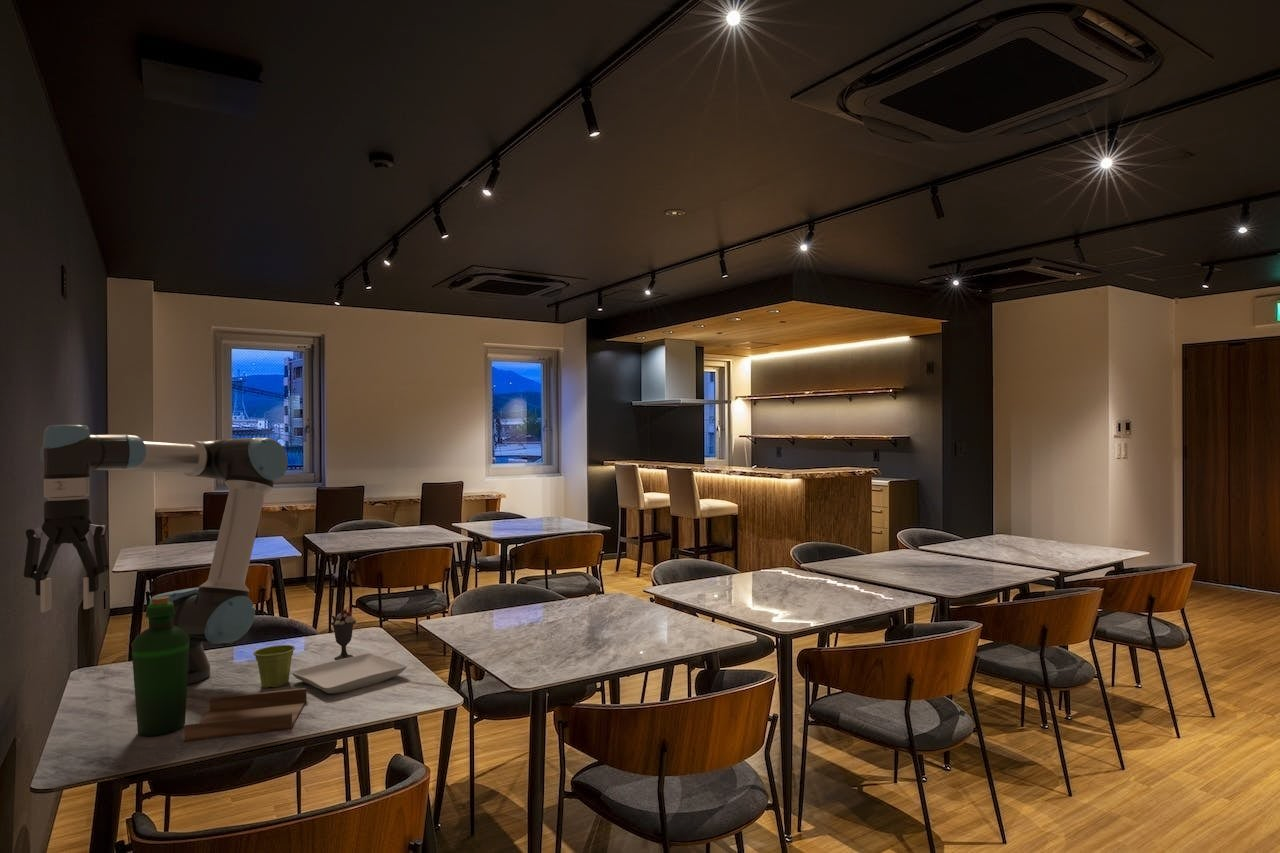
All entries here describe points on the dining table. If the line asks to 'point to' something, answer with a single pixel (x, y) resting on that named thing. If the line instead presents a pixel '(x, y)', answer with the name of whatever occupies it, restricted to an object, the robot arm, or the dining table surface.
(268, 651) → the plant pot
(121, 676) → the dining table surface
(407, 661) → the dining table surface
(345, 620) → the sundae
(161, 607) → the bottle
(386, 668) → the salad plate
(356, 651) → the dining table surface
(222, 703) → the cradle
